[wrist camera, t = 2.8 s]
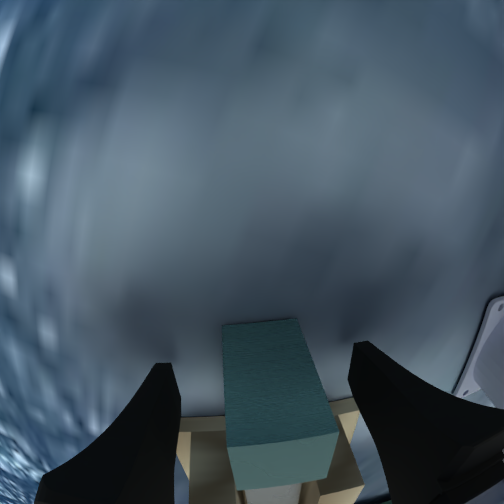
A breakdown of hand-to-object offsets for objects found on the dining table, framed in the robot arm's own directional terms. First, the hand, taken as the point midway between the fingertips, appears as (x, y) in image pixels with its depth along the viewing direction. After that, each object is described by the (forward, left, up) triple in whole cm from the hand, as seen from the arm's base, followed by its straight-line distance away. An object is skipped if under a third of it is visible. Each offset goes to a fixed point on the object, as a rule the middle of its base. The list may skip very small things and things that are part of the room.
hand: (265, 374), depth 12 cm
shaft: (0, +10, -2) cm, 11 cm away
